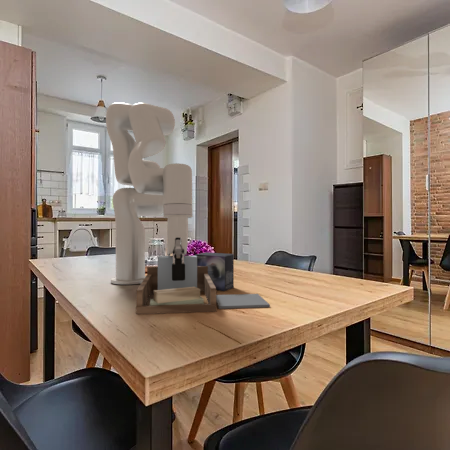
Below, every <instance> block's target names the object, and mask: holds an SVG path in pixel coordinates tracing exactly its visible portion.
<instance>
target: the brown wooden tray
mask: <svg viewBox="0 0 450 450" xmlns="http://www.w3.org/2000/svg"><path fill="white" fill-rule="evenodd" d="M146 270H147V271H146V272H147V274H146V275H145V276H146V277H145V279H144V280H143V281H142V283H140V285H139V286H138V288H137V289H136V293H135V294H136V295H135V296H136V303H135V304H136V307H135V314H136V315H148V314H150V315H151V314H155V315H156V314H176V313H177V314H179V313H180V314H181V313H182V314H183V313H205V312H206V313H207V312H209V313H210V312H217V303H216V295H217V290H216V287H215V285H214V284H213V282H212V280H211V278H210V276H209V275H208V266H197V288H199V289H200V292H201V291H203V293H204V296H205V297H206V302H207V303H204V304H179V305H150V304H149V305H147V303H148V301H149V300H150V299H149V298H150V296H151V294H152V293H154V290H158V266H147V267H146Z"/></svg>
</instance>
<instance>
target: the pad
mask: <svg viewBox="0 0 450 450" xmlns="http://www.w3.org/2000/svg"><path fill="white" fill-rule="evenodd" d="M216 307H217V308H218V310H223V309H224V310H225V309H252V308H253V309H254V308H255V309H256V308H257V309H259V308H270V307H271V304H270V303H269V302H268V301H266V300H265V299H264V298H263V297H262V296H261V295H260V294H259V293H242V294H234V293H233V294H216Z"/></svg>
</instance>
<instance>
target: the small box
mask: <svg viewBox="0 0 450 450" xmlns="http://www.w3.org/2000/svg"><path fill="white" fill-rule="evenodd" d="M194 256H197V266H208V275H209V276H210V278H211V280H212V282H213V284H214V285H215V287H216V291H221V292H222V291H223V292H226V291H229V290H232V289H234V288H235V287H234V286H235V285H234V282H235V281H234V275H235V274H234V271H235V270H234V267H235V266H234V263H235V261H234V256H235V254H234V253H222V252H201V253H197V254H195V255H194Z"/></svg>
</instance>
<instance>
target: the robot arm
mask: <svg viewBox="0 0 450 450" xmlns="http://www.w3.org/2000/svg"><path fill="white" fill-rule="evenodd" d="M105 125H106V130H107V135H108V137H109V140H110V142H111V145H112V154H113V165H114V175H115V179H116V181H117V182H118V184H120V185H123V186H130V187H121V188H119V189H117V190H116V191H114V193H113V194H112V206H113V213H114V220H115V221H114V222H115V277H112V278H110V283H111V284H114V285H125V286H126V285H138V284H141V283H142V281H143V280H144V279H145V277H146V276H147V275H146V229H145V226H144V224H143V223H142V221H141V220H140V218H139V217H158V216H162V215H163V218H164V219H167V223H166V224H167V225H166V240H167V241H166V242H167V243H166V249H167V250H166V256H171V254H172V256H173V264H172V280H173V281H183V280H185V264H184V256H187V252H188V241H189V218H190V219H191V218H193V217H194V216H193V171H192V168H191V166H190V165H189V164H187V163H186V164H185V163H177V162H176V163H168V164H165V166H164V167H161V166H160V165H159V164H158V163H157V161H153V160H148V159H147V158H149V157H152V156H156V155H158V154H160V153H161V152H162V151H163V150H164V149H165V147H166V138H165V136H169V135H171V134H172V133H173V132H174V130H175V126H176V120H175V115H174V114H173V112H172V111H171V110H170V109H168V108H166V107H161V106H159V105H154V104H151V103H146V102H138V103H134V104H131V103H125V102H113V103H111V104H110V105H108V107H107V109H106V113H105ZM129 131H131V132H133V135H132V134H130V133H129ZM133 136H134V137H133ZM131 186H132V187H131Z"/></svg>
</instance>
